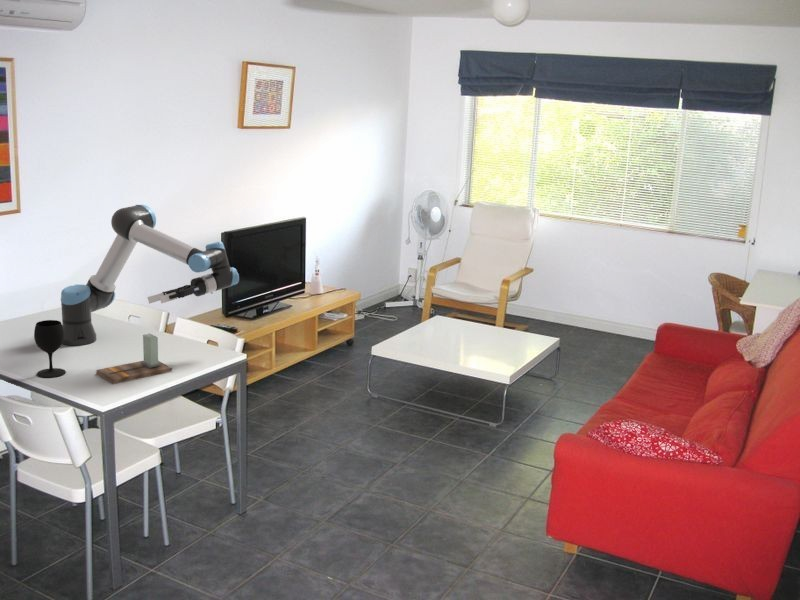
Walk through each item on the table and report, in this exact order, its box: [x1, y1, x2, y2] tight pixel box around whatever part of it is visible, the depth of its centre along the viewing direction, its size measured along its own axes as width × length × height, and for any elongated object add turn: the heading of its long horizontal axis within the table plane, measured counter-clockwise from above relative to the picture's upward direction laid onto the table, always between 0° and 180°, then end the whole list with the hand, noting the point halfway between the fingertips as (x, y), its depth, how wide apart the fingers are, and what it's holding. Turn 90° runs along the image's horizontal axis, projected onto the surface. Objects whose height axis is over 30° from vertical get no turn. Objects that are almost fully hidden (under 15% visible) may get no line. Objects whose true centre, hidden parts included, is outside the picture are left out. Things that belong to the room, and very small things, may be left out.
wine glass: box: [33, 319, 67, 379], centre depth 315 cm, size 10×10×20 cm
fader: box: [140, 333, 161, 368], centre depth 326 cm, size 5×7×12 cm
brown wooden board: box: [96, 360, 173, 385], centre depth 323 cm, size 24×14×2 cm, turn 134°
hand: (154, 300), depth 331 cm, fingers open, 13 cm apart
